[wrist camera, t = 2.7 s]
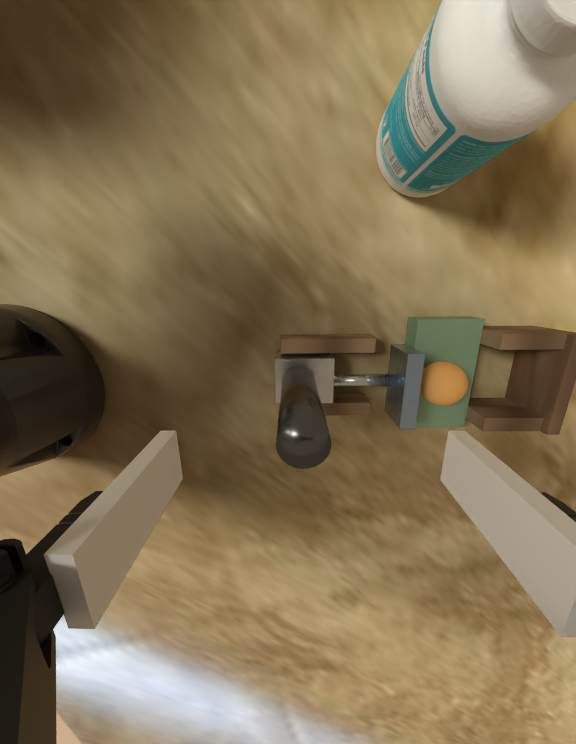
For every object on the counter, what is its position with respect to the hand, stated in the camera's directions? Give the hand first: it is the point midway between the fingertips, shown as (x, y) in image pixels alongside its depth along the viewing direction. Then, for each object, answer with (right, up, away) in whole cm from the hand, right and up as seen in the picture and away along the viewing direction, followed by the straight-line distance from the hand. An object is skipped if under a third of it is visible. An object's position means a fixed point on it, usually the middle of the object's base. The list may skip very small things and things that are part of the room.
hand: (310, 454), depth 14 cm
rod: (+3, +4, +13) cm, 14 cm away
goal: (+18, +4, +13) cm, 23 cm away
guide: (+2, +4, +13) cm, 14 cm away
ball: (+12, +3, +9) cm, 15 cm away
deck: (+13, +4, +13) cm, 19 cm away
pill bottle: (+9, +21, +8) cm, 25 cm away
